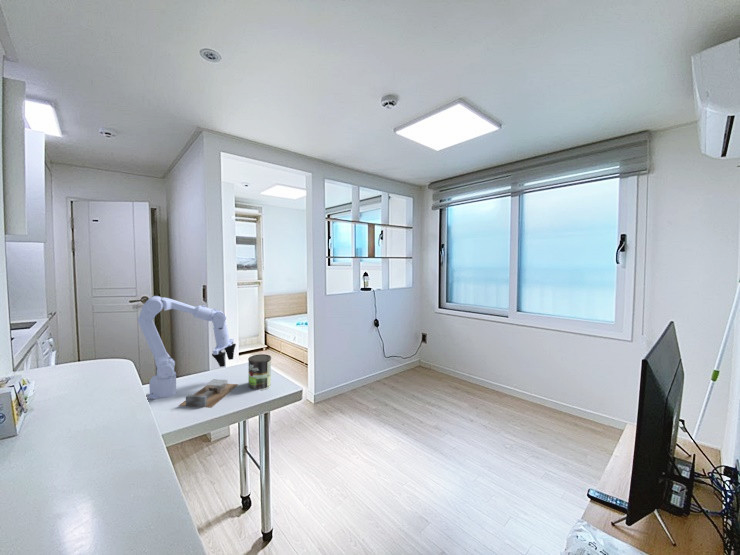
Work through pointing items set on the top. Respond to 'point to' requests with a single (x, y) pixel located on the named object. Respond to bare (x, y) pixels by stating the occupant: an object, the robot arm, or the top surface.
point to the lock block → (216, 385)
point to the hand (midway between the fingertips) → (226, 362)
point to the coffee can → (259, 371)
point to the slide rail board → (214, 397)
